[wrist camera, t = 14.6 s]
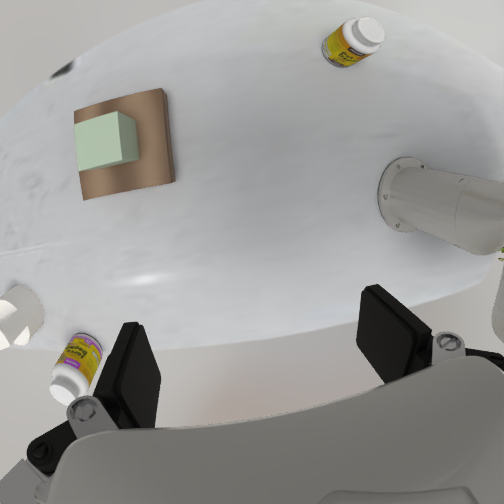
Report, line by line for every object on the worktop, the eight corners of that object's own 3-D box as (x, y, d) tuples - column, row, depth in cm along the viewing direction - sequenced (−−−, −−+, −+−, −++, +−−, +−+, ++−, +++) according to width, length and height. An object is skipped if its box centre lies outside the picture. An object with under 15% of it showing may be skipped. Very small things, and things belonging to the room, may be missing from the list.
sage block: (135, 120, 28) (117, 111, 22) (139, 159, 30) (122, 159, 23) (98, 129, 28) (73, 124, 21) (102, 168, 29) (78, 171, 23)
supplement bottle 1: (99, 334, 41) (74, 384, 29) (107, 363, 43) (88, 414, 31) (67, 330, 40) (38, 376, 28) (76, 358, 42) (53, 405, 30)
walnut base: (166, 95, 31) (161, 88, 28) (175, 180, 35) (171, 183, 32) (86, 115, 30) (73, 111, 26) (94, 196, 34) (83, 200, 30)
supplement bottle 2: (323, 66, 33) (356, 43, 23) (318, 35, 31) (347, 7, 21) (356, 70, 33) (394, 52, 24) (351, 40, 31) (385, 17, 22)
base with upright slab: (27, 278, 36) (-11, 310, 24) (52, 321, 39) (22, 361, 28) (3, 293, 36) (-32, 324, 24) (26, 332, 39) (-2, 368, 27)
